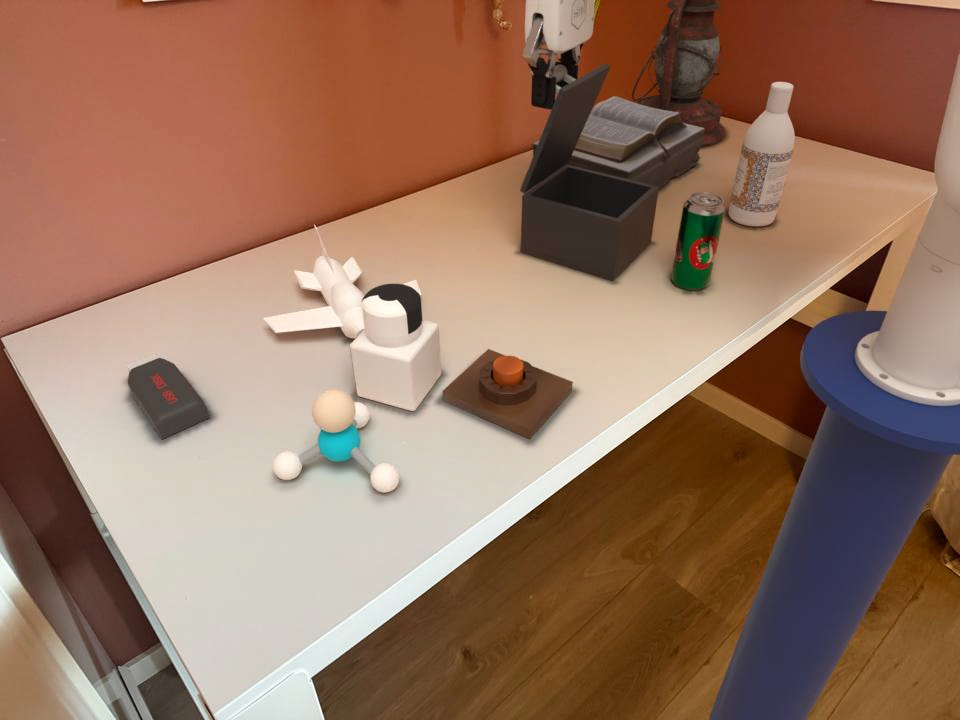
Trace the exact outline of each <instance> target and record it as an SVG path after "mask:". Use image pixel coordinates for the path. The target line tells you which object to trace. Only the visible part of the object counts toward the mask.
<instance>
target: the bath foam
mask: <svg viewBox="0 0 960 720" xmlns="http://www.w3.org/2000/svg"><path fill="white" fill-rule="evenodd" d="M793 91H794V85H793V84H792V83H790V82H786V81H775V82H772V83H771V84H770V89H769V93H768V97H767V100H766V106H765V110H764V111H762V113H761V114H759V116H757V118H756V119H755V120H754V121H753V122H752V123H751V125H750V126H749V127H748V129H747V131H746V134H745V136H744V139H743V141H742V146H741V150H740V154H739V159H738V165H737V168H736V169H737V170H736V173H735V177H734V183H733V188H732V192H731V197H730V202H729V206H728V216H729V218H730V220H732V221H734V222H735V223H737V224H739V225H742V226H745V227H756V228H758V227H765V226H768V225H771V224H772V223H774V221H775V220H776V218H777V214H778V209H779V206H780V202H781V199H782V194H783V191H784V187H785V185H786V184H785V183H786V179H787V175H788V172H789V168H790V164H791V161H792V157H793V153H794V149H795V148H794V147H795V142H796V141H795V140H796V136H795V129H794V126H793V123H792V120H791V118H790V114H789V112H788V111H789V107H790V104H791V99H792V96H793Z"/></svg>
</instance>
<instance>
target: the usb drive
mask: <svg viewBox="0 0 960 720" xmlns="http://www.w3.org/2000/svg"><path fill="white" fill-rule="evenodd" d="M126 368H127V371H128V377H127V385H128V388H129V390H130V393H131V394H132V397H133V399H134V400H135V402H136V404H137V406H138V407H139V409H140V411H142V413H143V414H144V416H145V417H146V419H147V420H148V421H149V423H150V425H151V426H152V427H153V429H154V431H155V432H156V434H157V435H158V436H159V439H160V440H164V439H166V438H169V437H170V436H172V435H175V434H177V433H179V432H181V431H183V430H187V429H188V428H190V427H192V426H195V425H196V424H199V423H201V422H204V421H206V420H207V419H210V418H211V416H210V413H209V410H208V406H207V405H206V403H205V402H204V399H202V397H201V396H200V395H199V393H198V392H197V390H196V389H195V388H194V387H193V385H192V384H191V383H190V382H189V380H188V379H187V378H186V377H185V375H184V374H183V373H182V372H181V370H180V369H179V368H178V367H177V365H176V364H175V363H173V362H172V361H169V360H167V359H165V358H162V357H159V356H158V355H157V354H155V353H154V354H152V355H149V356H147V357H144V358H142V359H139V360H137V361H135V362H131V363H129V364H127V365H126Z"/></svg>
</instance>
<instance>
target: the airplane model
mask: <svg viewBox="0 0 960 720" xmlns="http://www.w3.org/2000/svg"><path fill="white" fill-rule="evenodd" d="M313 226H314V230H315V232H316V236H317V239H318V242H319V246H320V250H321V252H322V255H320V256H318V257H317V258H316V260H315V261H314V265H313V269H312V272H309V271H302V270H296V269H293V272H294V274H295V278H296V279H297V281H298V282H297V283H298V284H299V286H300V288H301V289H303V290H310V291H315V292H320V294H321V295H322V297H323V299H324V301H325V302H326V304H327V306H322V307H321V306H320V307H318V308H317V307H316V308H311V309H305V310H300V311H299V310H298V311H293V312H289V313H283V314H277V315H272V316H271V315H270V316H266V317H262V319H263V320H264V322H265V323H266V324H267V325H268V326H269V327H270V329H271V330H272V331H273V333H274V334H282V333H290V332H300V331H310V330H319V329H329V328H340V329H341V331H342V333H343V334H344V335H345V337H347V338H350V339H356V338H357V337H358V336H359V334H360V333H361V332H362V331H363V330H364V329H365V326H364V318H363V311H362V303H361V302H362V299H363V297H364V296H365V294H364V293H363V292H362V291H361V290H360V289H359V288H358V287H357V286H356V285H355V284H354V283H355V282H356V281H357V280H358V279H360V278H361V276H363V274H364V271H363V270H362V269H361V267H360V266H359V264H358V263H357V261H356V259H355V258H354V256H351V257H350V258H349V259H348V260H346V262H345V263H344V264H343V265H342V264H341V263H340V262H339V261H337V260H335V259H334V258H332V257H330V256H329V255H328V252H327V249H326V247H325V244H324V242H323V240H322V237H321V235H320V232H319V229H318V227H317V226H316V225H315V224H313ZM402 284H403V285H407V286H410V287H412V288H413V289H415V290H416V291H417V292H418V293H419V294H420V297H422V295H423V294H422V291H421V289H420V286H419V284H418V281H417V279H414V280H411V281H408V282H405V283H402Z"/></svg>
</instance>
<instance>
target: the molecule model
mask: <svg viewBox="0 0 960 720" xmlns="http://www.w3.org/2000/svg"><path fill="white" fill-rule="evenodd" d="M311 417H312V419H313V422H314V423H315V425H317V427H318V428H319V429H320V431H319V432H318V436H317V443H316V444H315V445H312V446H311V447H310V448H308V449H307V450H305V451H303V452H301V453H300V454H298V453H296V452H294V451H292V450H286V451H282V452H280V453H278V454H277V455H276V456H275V458H274V459H273V461H272V471H273V473H274V475H275V476H276V477H277V478H279V479H280V480H283V481H290V480H293V479H295V478H297V476H299V475H300V473H301V471H302V468H303V466H304V465H305V464H307V463H309V462H310V461H312V460H314V459H315V458H317V457H318V456H320V455H321V454H322V455H323V456H324V457H325V458H326V459H328V460H330V461H332V462H345V461H348V460H350V459H352V458H353V460H355V461H356V462H357V464H358V465H359V466H361V468H362V469H363V470H365V472H366V473H368V475H369V481H370V484H371V486H372V487H373V489H375V490H376V491H377V492H380V493H389V492H392V491H393V490H395V489H396V488H397V487H398V485H399V482H400V479H401V478H400V473H399V470H398V468H397V467H396V466H395V465H393V464H392V463H389V462H382V463H379V464H377V465H375V464H374V463H373V461H372V460H371V459H370V458H369V457H368V456H367V455H366V454H364V452H363V451H362V450H360V446H361V434H360V432H359V430H358V429H361V428H363V427H365V426H366V425H367V424H368V422H369V420H370V411H369V409H368V407H367V406H366V405H365V404H364V403H362V402H358V401H354V400H353V398H352V397H351V395H350V394H348V393H347V392H346V391H343V390H340V389H335V388H333V389H327V390H325V391H323V392H321V393H320V394H318V395H317V396H316V398H315V399H314V401H313V404H312V406H311Z"/></svg>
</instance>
